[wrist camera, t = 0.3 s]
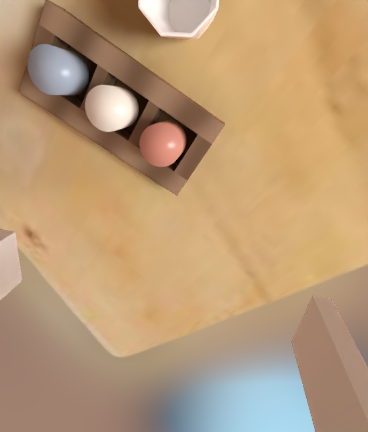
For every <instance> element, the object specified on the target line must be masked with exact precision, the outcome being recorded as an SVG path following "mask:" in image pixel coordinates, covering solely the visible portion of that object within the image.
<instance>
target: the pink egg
mask: <svg viewBox="0 0 368 432" xmlns="http://www.w3.org/2000/svg"><path fill="white" fill-rule="evenodd" d="M139 145H140V151H141V153H142V155H143V157H144V158H145V160H146V161H147V162H149V163H150V164H152V165H154V166H157V167H166V166H169V165H171V164H172V163H174V162H175V161H176V160H177V159H178V157H179V156H180V155H181V154H182V152H183V151H184V149H185V147H186V135H185V132H184V130H183V129H182V127H181V126H180V125H178V124H177V123H175V122H173V121H162V122H159V123H156V124H153V125H150V126H149V127H147V128H146V129H145V130H144V131H143V133H142V135H141V137H140V144H139Z"/></svg>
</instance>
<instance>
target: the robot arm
mask: <svg viewBox="0 0 368 432" xmlns="http://www.w3.org/2000/svg"><path fill="white" fill-rule="evenodd" d="M21 281H22V277H21V271H20V263H19V256H18V249H17V242H16V235H15V232H12V231H8V230H3V229H0V300H1V299H2V298H3V297H4V296H6V295H7V294H8V293H9V292H10V291H11V290H12V289H13V288H14V287H16V286H17V285H18V284H19V283H20V282H21ZM292 346H293V350H294V353H295V357H296V361H297V364H298V368H299V372H300V376H301V380H302V383H303V387H304V391H305V395H306V398H307V402H308V406H309V410H310V413H311V417H312V421H313V424H314V428H315V432H368V367H367V366H366V364H365V362H364V360H363V358H362V356H361V354H360V352H359V350H358V348H357V346H356V345H355V343H354V341H353V339H352V337H351V335H350V333H349V331H348V329H347V327H346V326H345V324H344V322H343V320H342V318H341V316H340V314H339V313H338V310H337V308H336V306H335V305H334V303H333V301H332V299H328V298H323V297H318V296H314V295H313V296H312V298H311V300H310V302H309V304H308V307H307V309H306V311H305V313H304V315H303V318H302V320H301V322H300V324H299V326H298V329H297V331H296V333H295V335H294V337H293V340H292Z"/></svg>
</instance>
